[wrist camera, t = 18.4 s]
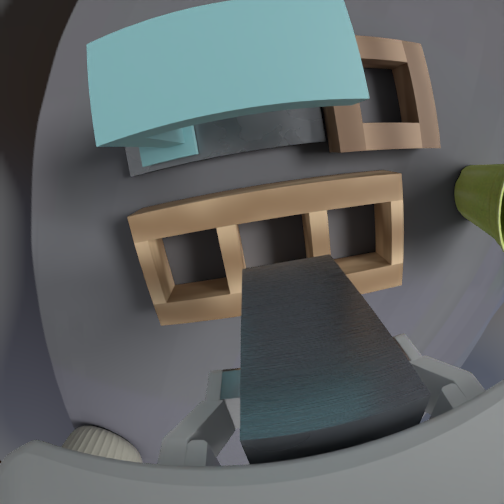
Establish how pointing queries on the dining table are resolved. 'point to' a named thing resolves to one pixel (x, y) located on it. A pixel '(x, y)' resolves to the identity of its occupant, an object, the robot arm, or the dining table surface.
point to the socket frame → (329, 116)
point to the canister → (101, 444)
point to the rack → (261, 208)
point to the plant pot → (482, 198)
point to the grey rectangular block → (318, 365)
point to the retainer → (219, 70)
